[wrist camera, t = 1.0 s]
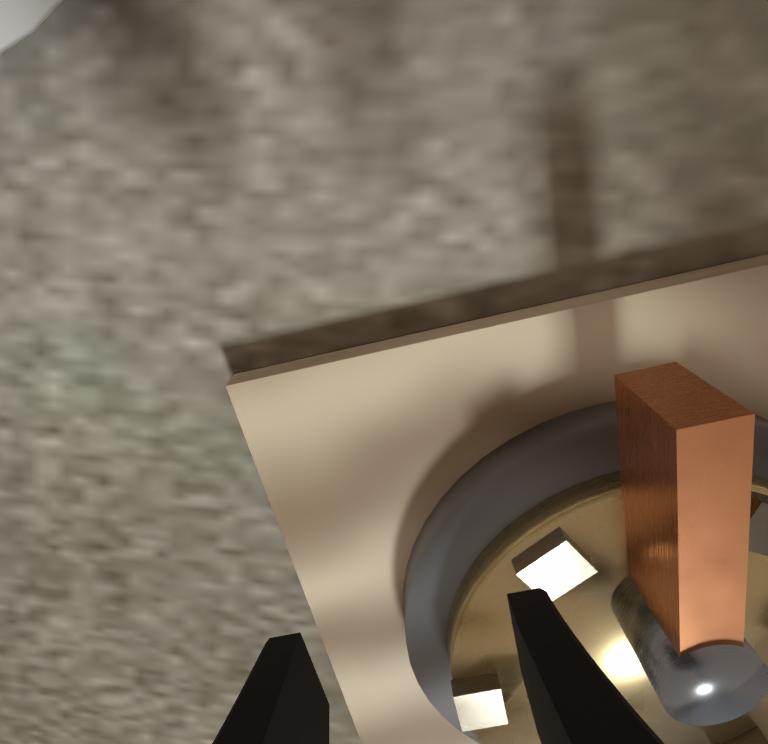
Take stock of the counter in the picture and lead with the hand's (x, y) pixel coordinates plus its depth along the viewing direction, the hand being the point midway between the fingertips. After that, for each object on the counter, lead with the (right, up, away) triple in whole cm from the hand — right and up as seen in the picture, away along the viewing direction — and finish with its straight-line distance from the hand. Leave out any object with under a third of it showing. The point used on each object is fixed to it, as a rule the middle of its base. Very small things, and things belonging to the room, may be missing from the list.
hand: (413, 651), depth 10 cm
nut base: (+9, -3, +12) cm, 15 cm away
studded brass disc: (+8, -2, +8) cm, 12 cm away
